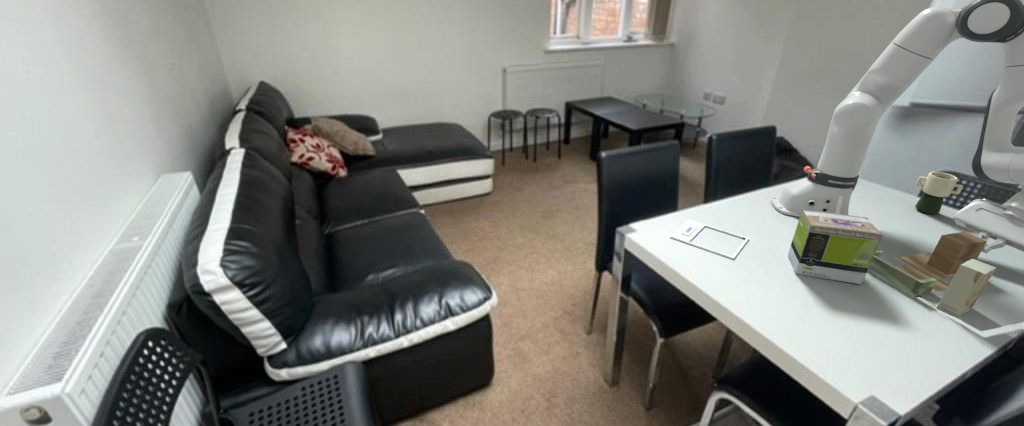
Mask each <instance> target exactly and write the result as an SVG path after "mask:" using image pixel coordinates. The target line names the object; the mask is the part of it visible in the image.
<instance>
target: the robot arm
mask: <svg viewBox="0 0 1024 426" xmlns="http://www.w3.org/2000/svg"><path fill="white" fill-rule="evenodd" d="M963 38H964V39H965V40H968V41H970V42H975V43H994V44H995V43H999V44H1001V45H1002V47H1003V50H1004V62H1003V63H1004V64H1003V65H1004V66H1003V67H1004V69H1003V70H1004V71H1003V75H1002V78H1001V81H1000V83H999V85H998V87H996V88H995V89H994V90H993V91H992V92H991V94H990V95H989V97H988V100H987V103H986V107H985V112H984V115H983V116H984V117H983V122H982V125H981V131H980V135H979V141H978V146H977V148H976V150H975V152H974V155H973V158H972V160H971V170H972V172H973V175H975V177H976V178H977V179H979V180H980V181H983V182H986V183H1001V184H1002V183H1006V184H1013V185H1019V186H1020V187H1021V190H1020V191H1018V192H1017V193H1015V194H1014V195H1013V196H1011V197H1010V198H1009V199H1007V201H1005V202H1004V203H999V202H997V201H996V202H995V201H992V200H991V199H988V198H978V199H977V198H975V199H974V200H972V201H971V202H970V203H969V204H967V205H966V206H964V207H963V208H961V209H960V210H959V211H957V212H955V213H954V214H953V219H954V222H955V224H956V225H957V226H960V227H961V228H962V227H963V228H965V229H968V230H970V231H972V232H975V233H977V234H978V236H977V237H979V238H981V239H983V240H986V241H988V239H992V240H994V241H996V242H993V243H989V244H987V243H986V244H985V246H984V248H983V249H982V251H981V253H985V254H988V253H990V252H991V251H992V250H996V249H1002V248H1004V247H1005V246H1009V247H1011V248H1014V249H1016V250H1018V251H1021V252H1023V253H1024V146H1015V145H1013V143H1012V141H1011V140H1012V135H1013V131H1014V127H1015V122H1016V118H1017V116H1018V113H1019V111H1020V110H1021V109H1022V108H1024V4H1023V2H1022V0H973V1H971V2H970V3H969V4H967V5H965V6H963V7H961V8H959V9H952V8H948V7H944V6H943V7H942V6H932V7H928V8H925V9H924V10H922V11H921V12H920V13H918V14H917V15H916V16H915V17H914V18H913V19H912V20H910V22H909V23H908V24H907V25H906V26H904V28H902V29H901V31H899V33H897V35H896V36H895V37H894V38H893V39H892V40H891V42H890V43H889V44H888V45H887V47H886V48H885V49H884V50H883V52H881V53H880V55H879V56H878V58H877V59H876V60H875V61H874V62H873V63H872V65H871V66H870V67H869V68H868V70H867V71H866V72H865V74H864V75H863V76H862V77H861V78H860V80H859V81H858V82H857V83H856V85H855V86H854V87H853V88H852V90H851V91H850V92H849V93H848V94H847V96H846V97H845V98H844V99H843V100H842V101H841V102H840V103H839V104H838V105H837V106H836V107H835V109H834V110H833V114H832V118H831V119H830V124H829V128H828V131H827V135H826V139H825V143H824V146H823V148H822V151H821V155H820V158H819V161H818V164H817V166H816V167H814V168H811V166H809V165H806V166H804V167H803V171H804V172H805V173H806V174H807V177H804V178H802V179H799V180H797V181H793V182H791V183H789V184H786V185H784V187H783V189H782V191H781V193H780V194H779V195H773V196H772V197H771V199H770V203H771V205H772V207H773V208H774V209H775V210H776V211H778V212H779V213H781V214H782V215H788V216H794V217H799V218H800V215H801V212H802V210H808V211H817V212H825V213H834V214H841V215H849V207H850V202H851V197H852V194H853V192H854V190H855V188H856V186H857V184H858V181H859V177H860V175H859V173H860V171H861V167H862V166H863V162H864V160H865V159H866V156H867V153H868V151H869V146H870V144H871V142H872V139H873V136H874V135H875V134H874V133H875V131H876V128H877V126H878V123H879V121H880V119H881V117H883V115H884V114H885V112H887V110H888V109H890V108H891V106H893V104H894V103H895V102H896V101H897V100H898V99H899V98H900V97H901V96H902V95H903V94H904V93H905V92H906V91H907V90H908V88H909V87H911V85H913V84H914V82H915V81H916V80H917V79H918V78H919V77H920V75H922V74H923V73H924V72H925V71H926V69H927V68H928V67H929V66H930V65H931V64H932V63H933V61H934V60H935V59H936V58H937V57H938V56H939V55H940V54H941V53H942V51H944V49H945V48H947V47H948V46H949V45H950V44H951V43H953V42H955V41H956V40H959V39H963Z"/></svg>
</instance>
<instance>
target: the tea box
mask: <svg viewBox="0 0 1024 426" xmlns="http://www.w3.org/2000/svg"><path fill="white" fill-rule="evenodd" d="M795 228H796V229H795V231H794V234H793V237H792V241H791V243H790V247H789V250H788V253H787V256H788V259H789V261H790V264H791V266H792V268H793V272H794V273H795V274H796V275H801V276H808V277H815V278H821V279H825V280H832V281H839V282H846V283H851V284H856V285H862V284H863V283H864V280H865V277H866V276H867V273H868V268H869V266H870V263H871V261H872V259H873V256H874V254H875V251H877V248H878V246H879V244H880V241H881V239H882V236H883V234H882V233H881V231H879V230H878V229H877V228H876V226H875V225H874V224H873V223H872V222H871V221H870V219H869V217H865V216H858V215H857V216H856V215H849V214H848V215H841V214H834V213H825V212H817V211H808V210H802V212H801V215H800V217H799V219H798V222H797V226H796V227H795Z"/></svg>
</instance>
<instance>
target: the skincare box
mask: <svg viewBox="0 0 1024 426" xmlns="http://www.w3.org/2000/svg"><path fill="white" fill-rule="evenodd" d="M996 269H997V267H995V266H992V265H990V264H988V263H985V262H982V261H979V260H978V259H977V260H975V259H971V260H969V261H966V262H965V263H963V264H961V265H960V267H959V268H958V270H957V272H956V274H955V275H954V276H952V279H951V280H950V282H949V283H950V284H949V286H948V288H947V289H945V290H944V291H945V292H944V294H943V295H942V297H941V298H940V300H939V302H938V304H937V306H936V309H937V310H939V311H941V312H943V313H945V314H948V315H950V316H953V317H955V318H957V319H959V317H958V316H960V317H961V316H963V315H964V314H966V313H967V312H969V311H970V310H971V309H972V308H973V307H974V306H975V304H976V302H977V300H978V299H979V297H980V296H981V294H982V293H983V291H984V289H985V287H986V285H988V284H987V283H988V282H990V281H989V279H992V276H993V275H994V274H995V271H996ZM950 312H951V313H950ZM952 313H953V314H952ZM956 315H957V316H956Z"/></svg>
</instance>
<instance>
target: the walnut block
mask: <svg viewBox="0 0 1024 426" xmlns="http://www.w3.org/2000/svg"><path fill="white" fill-rule="evenodd" d="M987 242H988V240H985V239H981V238H979V237H978V236H976V235H973V234H971V233H969V232H967V231H961V232H954V233H948V234H942V235H941V236H940V238H939V240H938V242H937V244H936V246H935V248H934V249H933V251H932V252H933V253H932V255H931V257H930V259H929V261H928V263H927V265H929V266H931V267H933V268H935V269H937V270H939V271H941V272H943V273H945V274H947V275H949V274H955V273H956V272H957V270H958V268H959V267H960V265H961V264H963V263H965V262H966V261H969V260H971V259H975V260H978V258H979V256H980V254H981V253H982V249H983V248H984V246H985V244H987Z"/></svg>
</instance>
